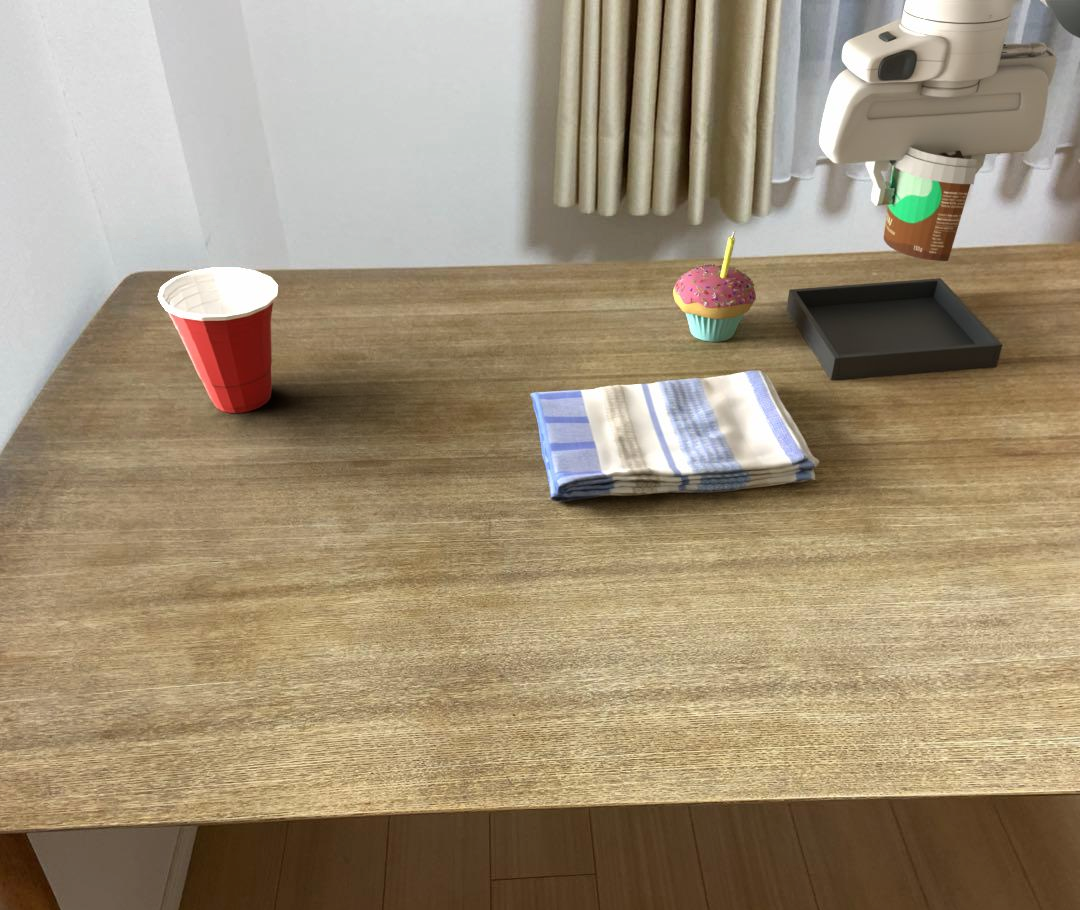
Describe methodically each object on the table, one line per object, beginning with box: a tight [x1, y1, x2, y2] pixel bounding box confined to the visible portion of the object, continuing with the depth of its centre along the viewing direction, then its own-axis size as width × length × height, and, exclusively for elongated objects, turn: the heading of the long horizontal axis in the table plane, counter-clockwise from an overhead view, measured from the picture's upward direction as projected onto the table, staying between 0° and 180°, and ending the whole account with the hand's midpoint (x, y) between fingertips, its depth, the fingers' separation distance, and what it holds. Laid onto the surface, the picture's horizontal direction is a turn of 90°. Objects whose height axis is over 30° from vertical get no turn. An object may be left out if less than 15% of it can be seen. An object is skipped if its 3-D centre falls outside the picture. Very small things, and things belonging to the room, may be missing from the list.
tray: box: [785, 277, 1004, 381], centre depth 107 cm, size 17×15×2 cm
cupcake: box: [672, 230, 757, 343], centre depth 106 cm, size 9×8×12 cm
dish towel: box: [530, 369, 821, 502], centre depth 93 cm, size 17×24×3 cm
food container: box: [883, 147, 978, 262], centre depth 98 cm, size 12×6×10 cm, turn 178°
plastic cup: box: [157, 266, 279, 414], centre depth 98 cm, size 11×11×12 cm
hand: (915, 201), depth 99 cm, fingers closed on food container, 6 cm apart
